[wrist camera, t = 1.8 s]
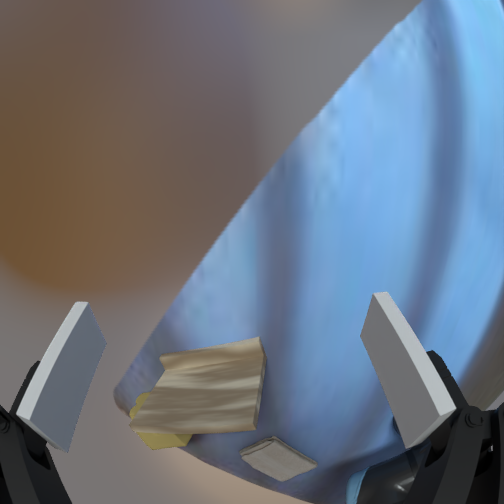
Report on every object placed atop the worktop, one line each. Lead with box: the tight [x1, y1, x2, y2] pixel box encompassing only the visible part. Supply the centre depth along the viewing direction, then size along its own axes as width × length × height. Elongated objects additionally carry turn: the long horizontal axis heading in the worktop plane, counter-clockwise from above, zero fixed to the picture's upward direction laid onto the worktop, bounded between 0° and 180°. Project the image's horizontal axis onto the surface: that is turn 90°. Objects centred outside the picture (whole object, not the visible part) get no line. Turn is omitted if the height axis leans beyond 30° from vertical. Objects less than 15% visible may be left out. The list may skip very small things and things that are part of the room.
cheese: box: [130, 392, 193, 450], centre depth 48 cm, size 10×11×10 cm
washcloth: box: [239, 436, 318, 481], centre depth 52 cm, size 12×18×3 cm, turn 45°
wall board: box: [129, 337, 267, 434], centre depth 41 cm, size 16×20×18 cm
